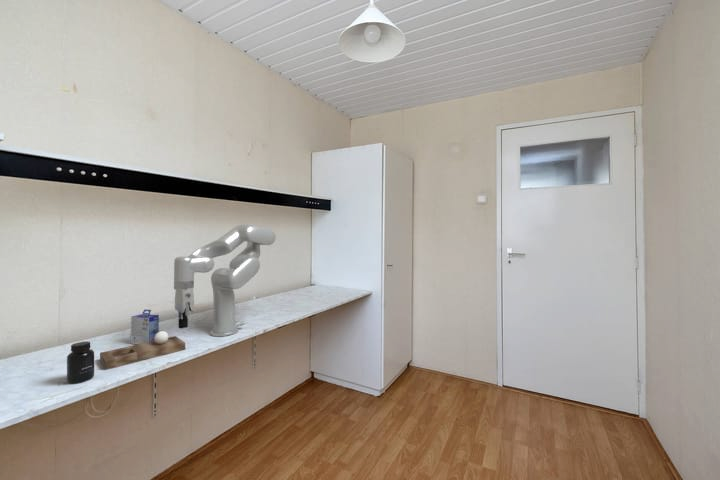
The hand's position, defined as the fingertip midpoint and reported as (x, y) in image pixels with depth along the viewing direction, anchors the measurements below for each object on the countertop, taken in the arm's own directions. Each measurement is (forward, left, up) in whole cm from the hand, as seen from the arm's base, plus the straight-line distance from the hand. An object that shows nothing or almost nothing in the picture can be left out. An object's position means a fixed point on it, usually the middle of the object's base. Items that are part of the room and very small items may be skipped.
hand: (183, 327), depth 135 cm
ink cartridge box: (+10, -16, -8) cm, 21 cm away
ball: (+8, 0, -2) cm, 9 cm away
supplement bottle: (+34, +9, -8) cm, 36 cm away
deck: (+14, 0, -8) cm, 16 cm away
